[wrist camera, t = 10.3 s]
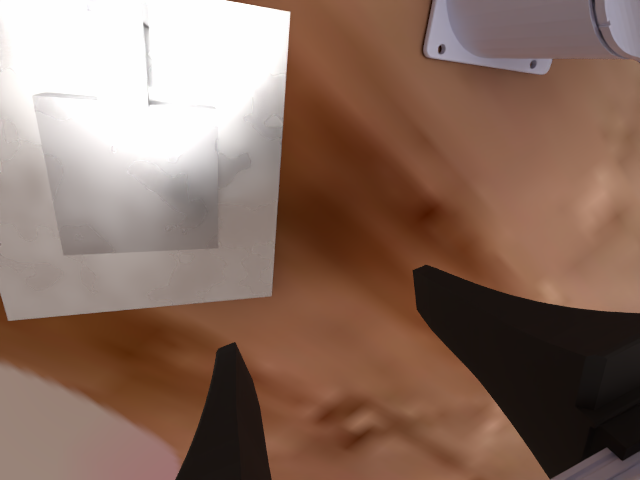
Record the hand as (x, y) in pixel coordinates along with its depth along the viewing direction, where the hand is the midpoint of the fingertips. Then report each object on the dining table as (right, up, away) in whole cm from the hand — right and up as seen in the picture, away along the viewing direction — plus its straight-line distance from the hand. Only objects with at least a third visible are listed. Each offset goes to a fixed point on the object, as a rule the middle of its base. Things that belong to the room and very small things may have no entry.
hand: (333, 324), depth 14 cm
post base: (-10, +7, +5) cm, 13 cm away
